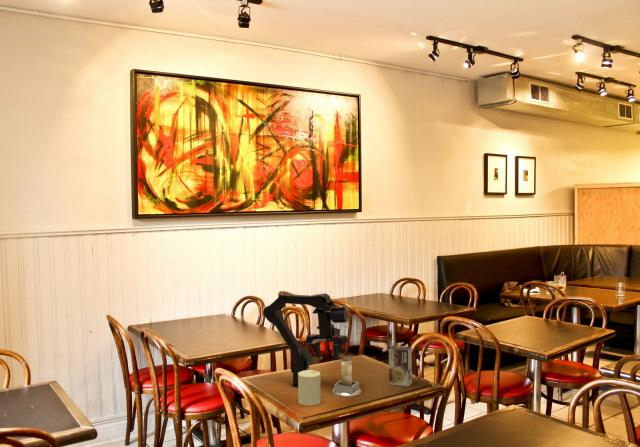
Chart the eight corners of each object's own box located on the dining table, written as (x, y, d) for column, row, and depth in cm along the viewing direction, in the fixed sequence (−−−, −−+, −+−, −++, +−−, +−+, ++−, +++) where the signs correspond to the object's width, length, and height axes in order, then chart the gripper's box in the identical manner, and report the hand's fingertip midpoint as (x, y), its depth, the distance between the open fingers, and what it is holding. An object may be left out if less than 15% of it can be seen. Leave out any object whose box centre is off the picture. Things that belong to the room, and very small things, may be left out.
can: (325, 401, 221) (325, 371, 221) (310, 407, 214) (309, 377, 214) (308, 396, 227) (308, 367, 227) (293, 402, 220) (293, 372, 220)
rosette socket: (327, 394, 229) (327, 385, 229) (339, 385, 240) (339, 377, 240) (354, 398, 224) (354, 389, 224) (365, 389, 234) (365, 381, 234)
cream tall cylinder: (339, 391, 231) (339, 358, 230) (344, 387, 235) (343, 355, 234) (349, 392, 229) (349, 359, 228) (353, 389, 233) (353, 356, 232)
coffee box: (412, 382, 244) (412, 346, 243) (408, 387, 238) (408, 350, 237) (392, 380, 247) (392, 344, 247) (388, 384, 242) (388, 348, 241)
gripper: (352, 319, 238) (356, 355, 238) (318, 319, 249) (321, 353, 249) (338, 325, 229) (342, 362, 229) (303, 324, 240) (306, 359, 240)
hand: (328, 359), depth 237 cm, fingers open, 9 cm apart
